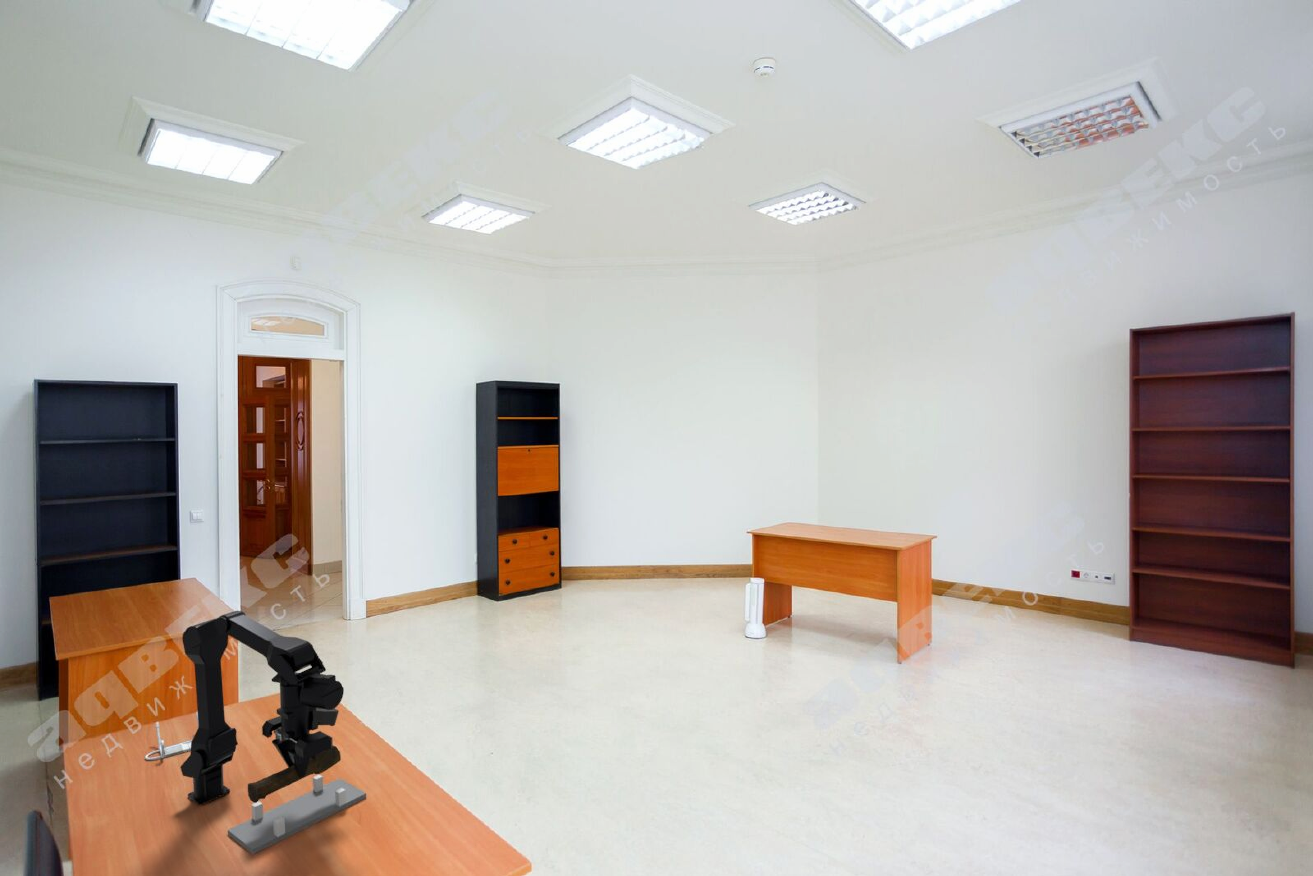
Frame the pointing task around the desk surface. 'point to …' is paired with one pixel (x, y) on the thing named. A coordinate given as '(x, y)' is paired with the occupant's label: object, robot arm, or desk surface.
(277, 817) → the plate
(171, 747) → the wall mount rack
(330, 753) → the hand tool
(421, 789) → the desk surface
